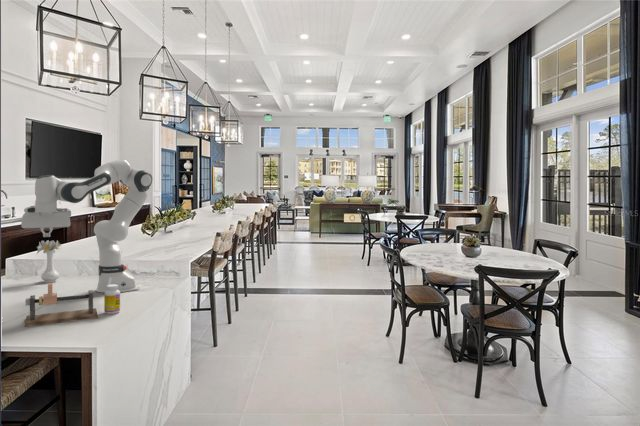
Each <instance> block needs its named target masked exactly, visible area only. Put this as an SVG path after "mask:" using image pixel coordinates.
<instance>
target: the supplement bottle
mask: <svg viewBox="0 0 640 426" xmlns="http://www.w3.org/2000/svg"><path fill="white" fill-rule="evenodd" d="M117 288H118V285H116V284H111V285H107V291H106V292H105V293H104V295H103V296H104V300H103V301H104V308H103V310H104V313H105V314H108V315H114V314H118V313H120V311H121V292H120V291H119V290H117Z"/></svg>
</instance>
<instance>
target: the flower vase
mask: <svg viewBox="0 0 640 426" xmlns="http://www.w3.org/2000/svg"><path fill="white" fill-rule="evenodd" d="M38 243H39V244H38V246H36V249H37V253H36V255H38V254H39V252H42V251H43V252H42V253H43V254H46V267H45V270H44V271H43V272H42V273H41V275H40V278H41V280H43V282H44V283H46V284H48V283H55V282H57V280H58V279H59V277H60V273H59V272H58V271H57V270H56V268H55V267H54V254H56V250H58V251H60V252H62V253H63V250H62V249H61V248H63V246H62V244H61V243H60V242H59V240H56V241H55V240H50V241H49V239H48V240H46V241H45V240H41V241H39V242H38Z"/></svg>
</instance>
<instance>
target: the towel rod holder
mask: <svg viewBox="0 0 640 426" xmlns="http://www.w3.org/2000/svg"><path fill="white" fill-rule="evenodd" d="M87 291H88V294H89V298H87V299H88V304H87V305H88V309H87V308H85V309H77V310H69V311H61V312H60V311H59V312H49V313H40V314H36V303H35V299H36V295H30V296H29V298H30V305H29V315H26V317H25V321H24V327H33V326H42V325H43V326H44V325H51V324H59V323H60V324H61V323H69V322H75V321H85V320H92V319H98V318H99V315H98V311H97V307H95V308H94V291H93V289H91V290H87ZM88 294H87V295H88Z"/></svg>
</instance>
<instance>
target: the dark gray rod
mask: <svg viewBox="0 0 640 426" xmlns="http://www.w3.org/2000/svg"><path fill="white" fill-rule="evenodd" d="M88 298H89V294H79V295H68V296H59V297H58V296H57V302H61V301H72V300H81V299H88ZM35 304H38V305H39V306H44V305H43V296H39V297H38V298H35ZM25 306H26V307H27V306H30V297H28V298H25Z"/></svg>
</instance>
